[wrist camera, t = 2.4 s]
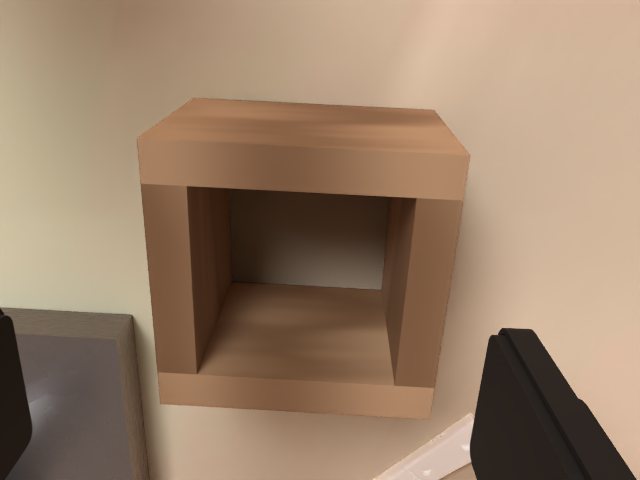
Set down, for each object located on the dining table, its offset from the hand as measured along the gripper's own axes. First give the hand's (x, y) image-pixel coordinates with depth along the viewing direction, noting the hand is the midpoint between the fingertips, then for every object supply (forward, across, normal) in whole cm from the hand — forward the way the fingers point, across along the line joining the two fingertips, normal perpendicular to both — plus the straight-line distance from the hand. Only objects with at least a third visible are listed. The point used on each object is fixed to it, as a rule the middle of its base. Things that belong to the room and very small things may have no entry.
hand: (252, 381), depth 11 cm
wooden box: (+7, -1, -1) cm, 8 cm away
